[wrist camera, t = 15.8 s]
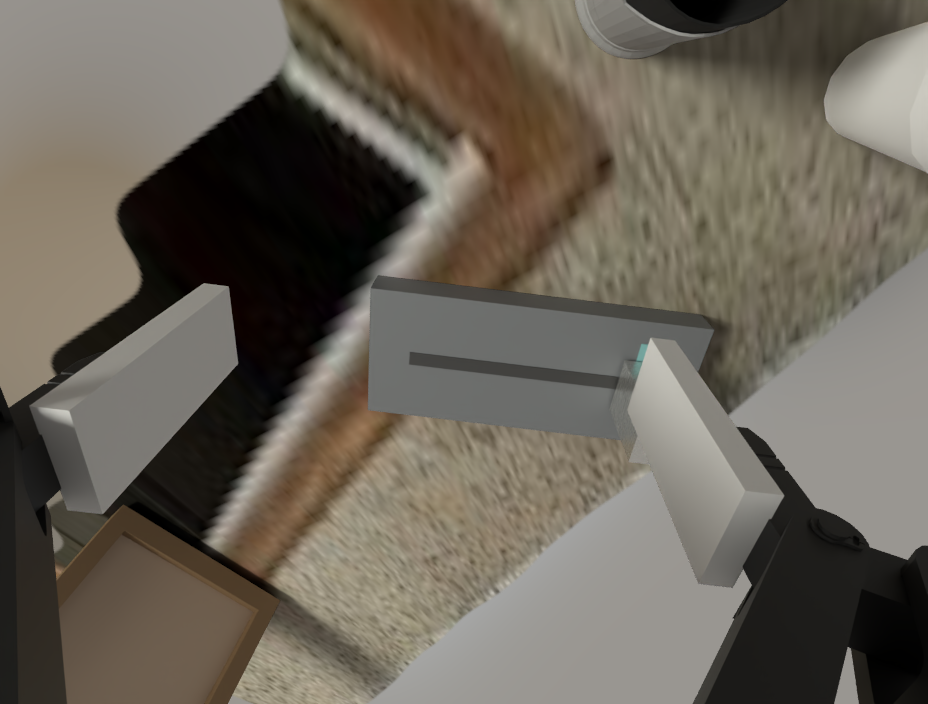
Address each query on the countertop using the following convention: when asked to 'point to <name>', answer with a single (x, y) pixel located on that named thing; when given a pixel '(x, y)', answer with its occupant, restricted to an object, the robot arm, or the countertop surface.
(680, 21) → the glass holder
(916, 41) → the foam cup
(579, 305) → the fader console
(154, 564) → the photo frame
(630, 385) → the fader knob
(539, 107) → the countertop surface
